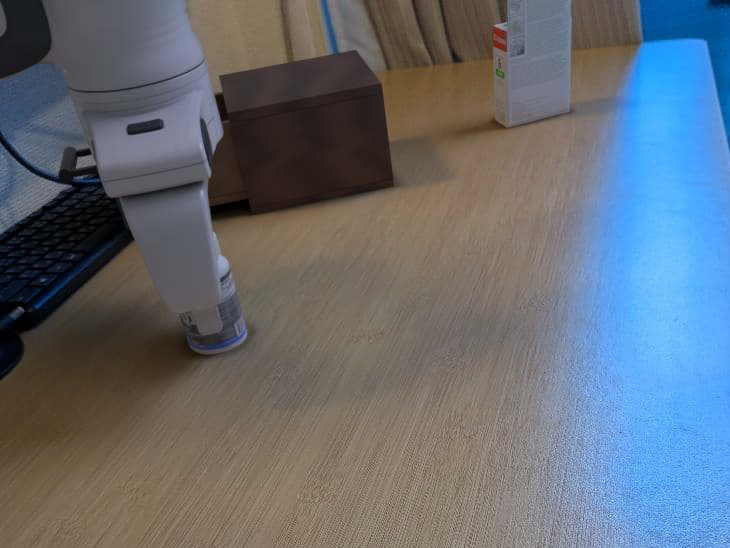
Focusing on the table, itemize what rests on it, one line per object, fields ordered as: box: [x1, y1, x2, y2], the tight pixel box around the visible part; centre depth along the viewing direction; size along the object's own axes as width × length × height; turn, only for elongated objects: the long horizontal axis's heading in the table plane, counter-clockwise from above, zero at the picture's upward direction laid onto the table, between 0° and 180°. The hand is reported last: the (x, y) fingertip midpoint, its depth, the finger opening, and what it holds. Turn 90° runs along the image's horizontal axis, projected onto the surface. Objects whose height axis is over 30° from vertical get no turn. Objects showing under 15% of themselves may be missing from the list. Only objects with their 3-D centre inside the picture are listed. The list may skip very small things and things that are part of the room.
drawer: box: [57, 91, 248, 231], centre depth 84 cm, size 18×13×8 cm
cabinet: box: [218, 49, 395, 216], centre depth 85 cm, size 15×14×10 cm
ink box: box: [492, 0, 573, 129], centre depth 90 cm, size 4×8×15 cm, turn 109°
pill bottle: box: [178, 231, 248, 355], centre depth 63 cm, size 5×5×8 cm
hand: (209, 309), depth 64 cm, fingers open, 5 cm apart
